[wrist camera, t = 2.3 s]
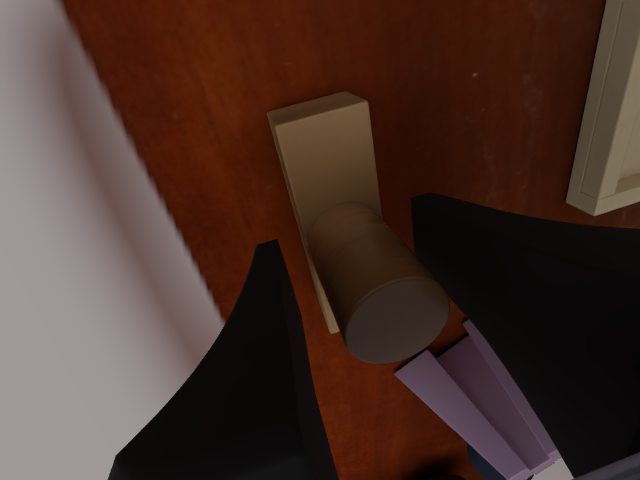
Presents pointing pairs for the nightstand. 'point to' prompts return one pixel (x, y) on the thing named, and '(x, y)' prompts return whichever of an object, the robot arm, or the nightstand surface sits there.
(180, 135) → the nightstand surface
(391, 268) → the wooden stamp
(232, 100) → the nightstand surface
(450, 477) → the figurine
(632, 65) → the tray
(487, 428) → the letters
